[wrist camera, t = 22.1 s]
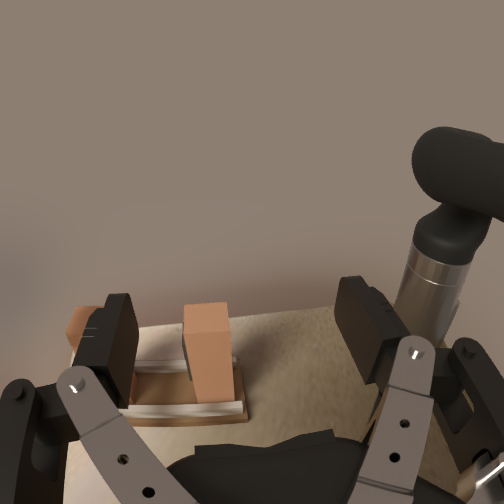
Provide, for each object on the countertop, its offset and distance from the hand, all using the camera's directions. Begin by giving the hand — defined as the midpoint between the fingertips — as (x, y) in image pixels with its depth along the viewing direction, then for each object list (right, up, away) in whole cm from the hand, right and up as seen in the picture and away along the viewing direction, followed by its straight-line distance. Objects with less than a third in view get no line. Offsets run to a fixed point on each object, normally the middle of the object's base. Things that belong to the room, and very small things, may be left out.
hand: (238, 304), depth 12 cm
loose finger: (-4, -16, +27) cm, 31 cm away
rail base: (-10, -17, +27) cm, 33 cm away
